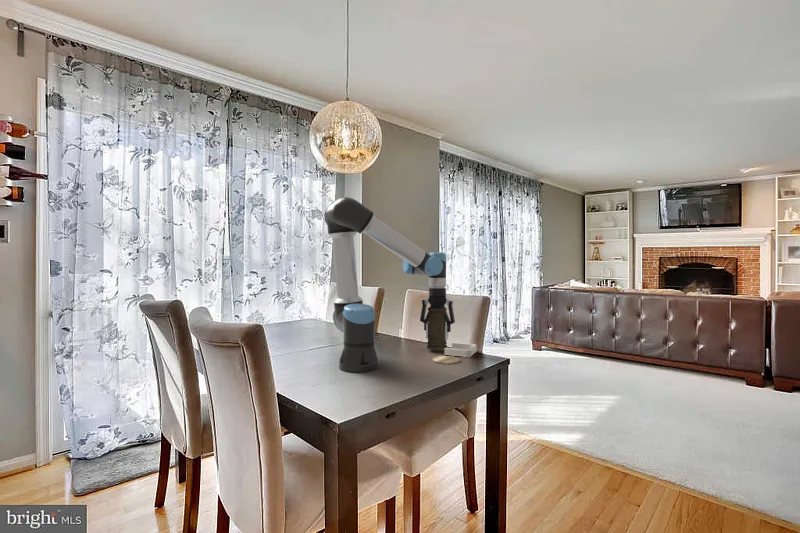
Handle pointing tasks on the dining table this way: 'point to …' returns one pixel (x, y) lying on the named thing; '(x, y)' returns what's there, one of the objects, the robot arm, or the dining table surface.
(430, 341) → the container
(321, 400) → the dining table surface
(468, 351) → the cradle
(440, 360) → the disc
